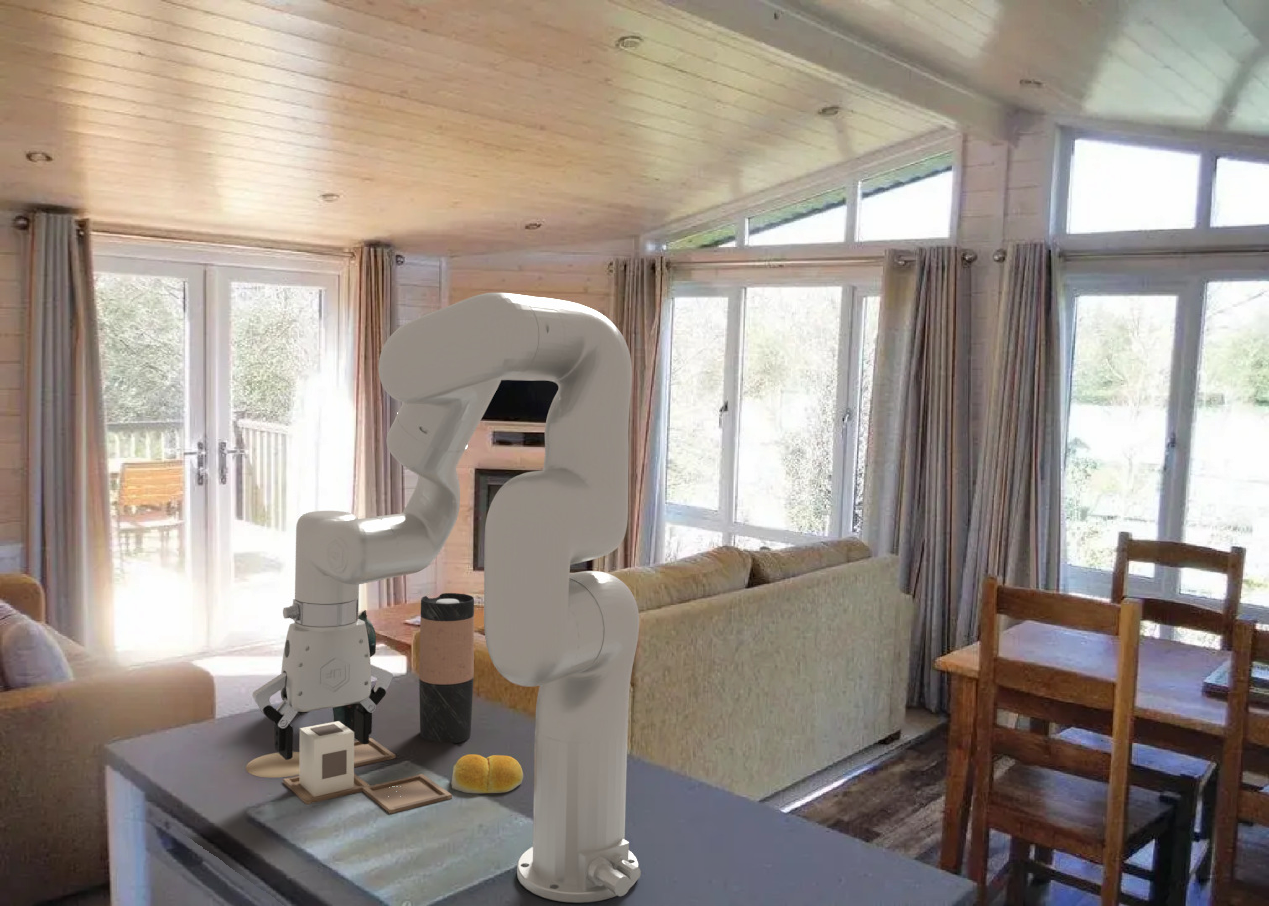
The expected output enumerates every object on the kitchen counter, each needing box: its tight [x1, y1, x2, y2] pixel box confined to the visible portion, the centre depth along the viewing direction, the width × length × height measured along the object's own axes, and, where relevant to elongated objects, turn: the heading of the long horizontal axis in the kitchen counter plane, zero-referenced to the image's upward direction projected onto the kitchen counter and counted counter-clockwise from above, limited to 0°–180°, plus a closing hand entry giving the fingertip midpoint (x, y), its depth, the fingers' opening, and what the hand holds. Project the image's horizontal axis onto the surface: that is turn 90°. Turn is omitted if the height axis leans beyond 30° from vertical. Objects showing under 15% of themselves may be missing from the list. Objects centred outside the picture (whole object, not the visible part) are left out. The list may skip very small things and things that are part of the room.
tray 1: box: [282, 772, 371, 805], centre depth 127 cm, size 8×8×1 cm
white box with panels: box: [298, 721, 355, 797], centre depth 127 cm, size 5×5×7 cm
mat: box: [245, 751, 300, 779], centre depth 134 cm, size 9×9×1 cm
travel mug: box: [418, 592, 475, 745], centre depth 146 cm, size 8×8×20 cm
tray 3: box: [362, 773, 453, 814], centre depth 125 cm, size 8×8×1 cm
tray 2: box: [354, 737, 397, 768], centre depth 138 cm, size 8×8×1 cm
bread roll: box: [450, 753, 524, 794], centre depth 130 cm, size 8×9×4 cm
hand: (324, 748), depth 127 cm, fingers open, 9 cm apart
